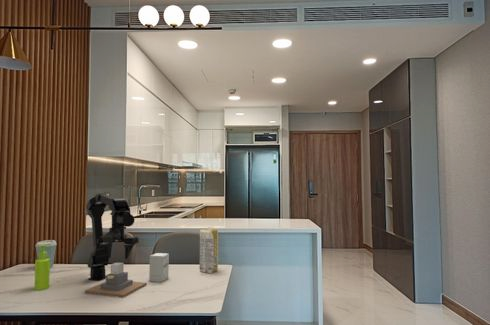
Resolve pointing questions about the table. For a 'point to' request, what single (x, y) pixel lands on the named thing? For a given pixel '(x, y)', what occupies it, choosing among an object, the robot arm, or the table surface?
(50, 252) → the disposable coffee cup
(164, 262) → the supplement box
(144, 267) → the table surface
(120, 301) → the table surface
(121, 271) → the block
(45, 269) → the soap dispenser
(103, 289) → the tan base plate
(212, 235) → the juice carton
